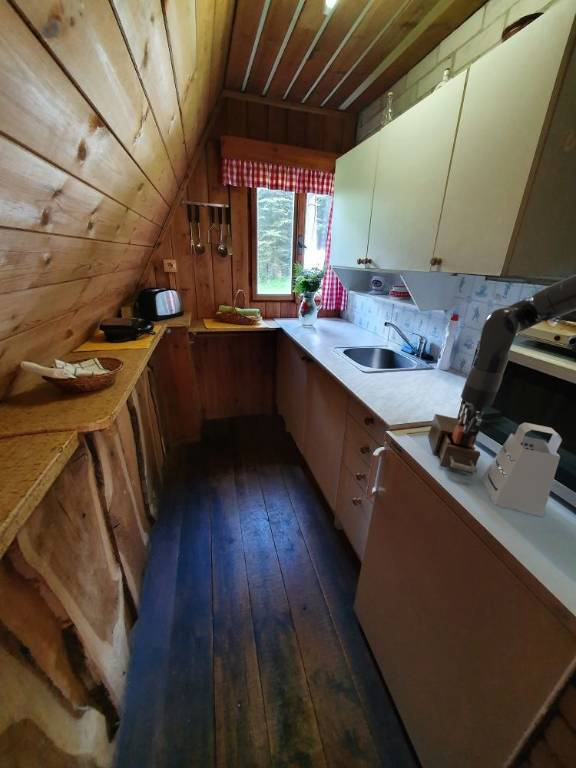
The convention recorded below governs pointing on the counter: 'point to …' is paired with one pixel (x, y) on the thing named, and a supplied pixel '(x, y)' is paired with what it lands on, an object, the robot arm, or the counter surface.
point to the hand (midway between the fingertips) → (461, 440)
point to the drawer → (457, 455)
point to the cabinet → (442, 430)
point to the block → (459, 435)
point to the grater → (524, 471)
